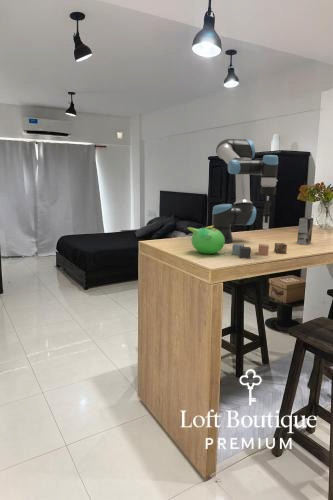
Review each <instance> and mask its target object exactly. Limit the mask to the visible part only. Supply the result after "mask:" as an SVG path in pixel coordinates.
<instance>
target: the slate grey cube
mask: <svg viewBox="0 0 333 500" xmlns="http://www.w3.org/2000/svg"><path fill="white" fill-rule="evenodd" d="M240 247H245V244H243V243H234V244H232V248H231V250H232V251H231V255H237V256H240Z"/></svg>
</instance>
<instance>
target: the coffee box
mask: <svg viewBox="0 0 333 500" xmlns="http://www.w3.org/2000/svg"><path fill="white" fill-rule="evenodd" d="M314 219H315V218H313V217H300V218H299V222H298V230H297V231H298V232H297V241H296V244H297V245H304V246H308V245H310V244H311V243H312V235H313V227H314Z"/></svg>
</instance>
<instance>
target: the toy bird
mask: <svg viewBox="0 0 333 500" xmlns="http://www.w3.org/2000/svg"><path fill="white" fill-rule="evenodd" d="M212 227H213V226H212V225H209V226H205V227H204V226H203V227H201V228H194V227H187V228H186V229H187V230H188V231H190V232H192V235H191V238H190V239H191V244H192V246H193V248H194V249H195V250H196V251H198V252H199V253H201V254H205V255H207V254H208V255H213V254H215V253H216V254H217V253H218V252H220V251H221V250H222V249H223V248H224V247H225V244H226V243H225V239H224V236H223V234H222V233H221V232H220V231H219V230H217V229H215V228H212Z"/></svg>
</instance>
